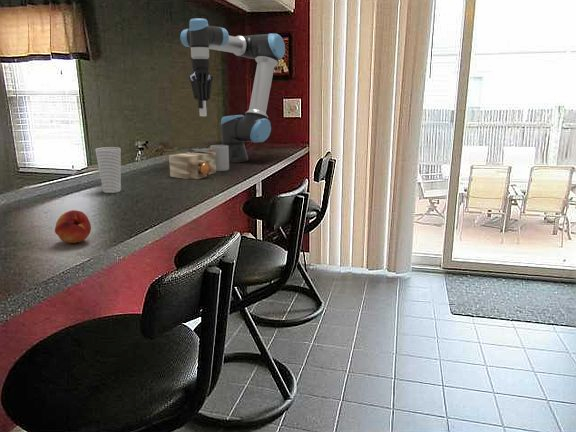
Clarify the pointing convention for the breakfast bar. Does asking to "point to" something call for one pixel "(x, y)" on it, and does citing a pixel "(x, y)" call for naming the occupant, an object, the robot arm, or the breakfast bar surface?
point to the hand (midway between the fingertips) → (203, 116)
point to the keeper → (203, 149)
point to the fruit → (73, 227)
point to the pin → (204, 168)
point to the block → (191, 164)
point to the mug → (221, 157)
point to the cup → (109, 168)
